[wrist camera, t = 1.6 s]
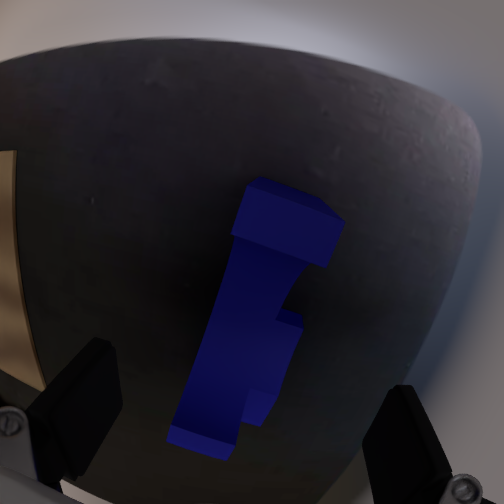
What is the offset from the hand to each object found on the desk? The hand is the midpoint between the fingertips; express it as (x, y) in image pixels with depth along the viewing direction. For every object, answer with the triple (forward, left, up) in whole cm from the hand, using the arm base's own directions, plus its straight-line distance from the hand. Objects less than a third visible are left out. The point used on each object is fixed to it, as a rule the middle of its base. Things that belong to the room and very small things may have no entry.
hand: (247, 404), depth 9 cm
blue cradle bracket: (0, 0, -8) cm, 8 cm away
